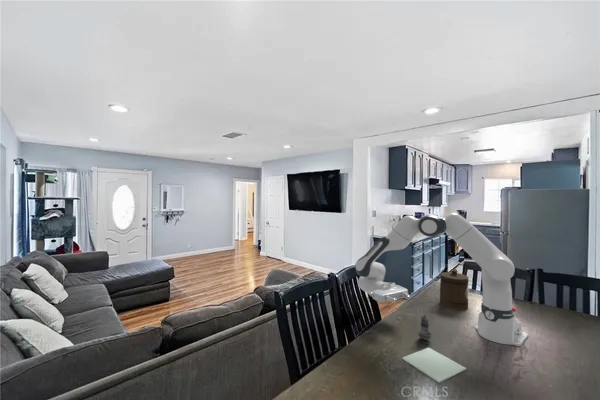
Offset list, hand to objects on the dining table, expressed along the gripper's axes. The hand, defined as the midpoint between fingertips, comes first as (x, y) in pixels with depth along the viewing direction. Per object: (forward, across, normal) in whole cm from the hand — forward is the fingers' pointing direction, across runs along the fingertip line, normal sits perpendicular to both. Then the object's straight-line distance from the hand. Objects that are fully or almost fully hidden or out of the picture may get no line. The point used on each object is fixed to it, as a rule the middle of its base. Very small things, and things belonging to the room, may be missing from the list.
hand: (402, 299), depth 133 cm
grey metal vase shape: (+12, 0, +15) cm, 19 cm away
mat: (+26, -12, +14) cm, 32 cm away
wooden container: (-6, +51, +14) cm, 54 cm away
